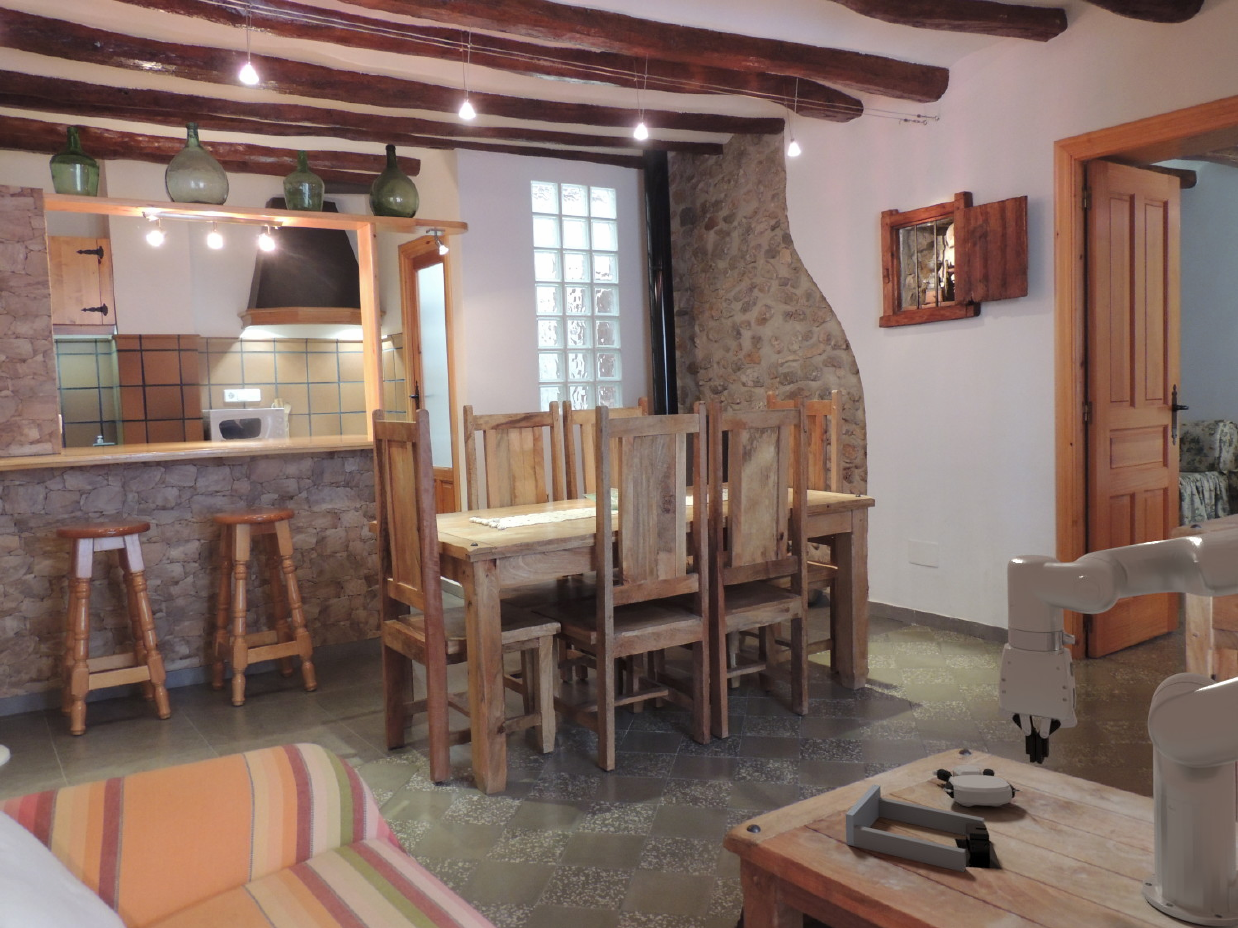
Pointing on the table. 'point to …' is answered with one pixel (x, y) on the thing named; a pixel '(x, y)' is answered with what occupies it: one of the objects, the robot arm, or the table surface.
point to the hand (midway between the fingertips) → (1037, 759)
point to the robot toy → (976, 786)
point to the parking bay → (906, 846)
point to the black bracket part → (978, 847)
